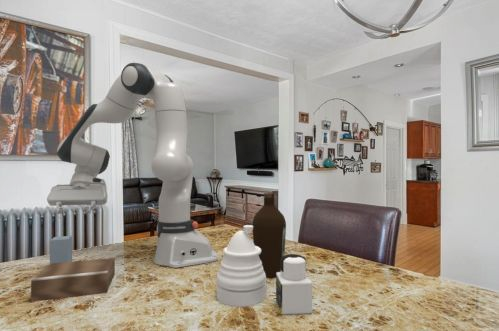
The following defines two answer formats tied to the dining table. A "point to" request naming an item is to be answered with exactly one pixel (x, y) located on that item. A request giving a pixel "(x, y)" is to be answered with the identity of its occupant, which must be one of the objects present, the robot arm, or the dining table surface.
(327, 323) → the dining table surface
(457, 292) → the dining table surface
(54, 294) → the dock
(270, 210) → the olive oil
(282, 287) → the medicine bottle
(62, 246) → the blue-grey rectangular block
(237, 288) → the honey pot
